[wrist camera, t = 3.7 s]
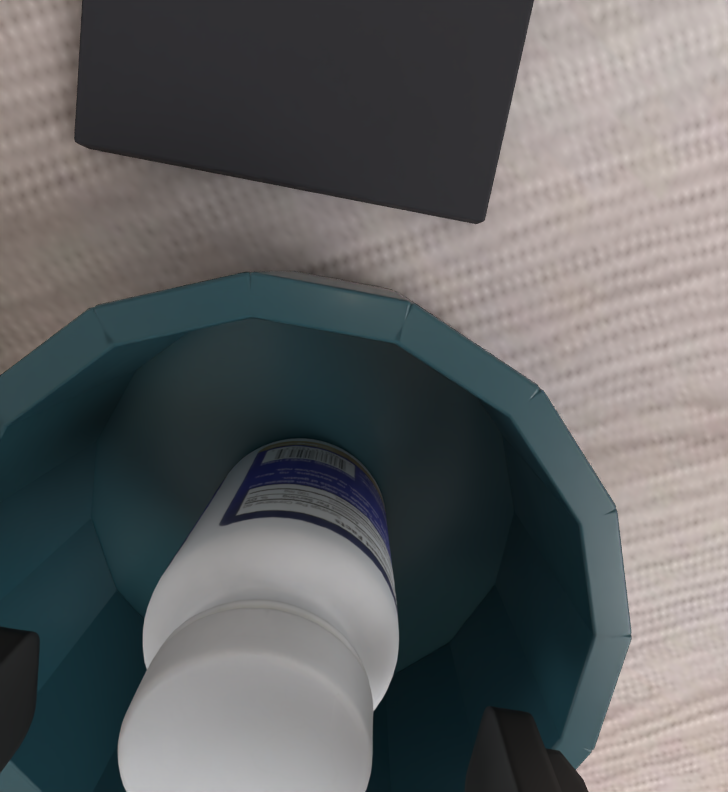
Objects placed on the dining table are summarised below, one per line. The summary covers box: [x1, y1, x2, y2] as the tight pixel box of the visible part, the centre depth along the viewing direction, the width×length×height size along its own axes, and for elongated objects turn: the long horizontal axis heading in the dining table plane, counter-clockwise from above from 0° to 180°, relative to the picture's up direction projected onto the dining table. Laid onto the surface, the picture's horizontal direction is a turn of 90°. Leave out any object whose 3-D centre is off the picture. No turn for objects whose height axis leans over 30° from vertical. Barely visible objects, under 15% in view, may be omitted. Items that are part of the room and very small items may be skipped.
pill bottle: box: [118, 438, 399, 792], centre depth 13 cm, size 5×5×9 cm
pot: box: [0, 271, 632, 792], centre depth 14 cm, size 15×15×6 cm
